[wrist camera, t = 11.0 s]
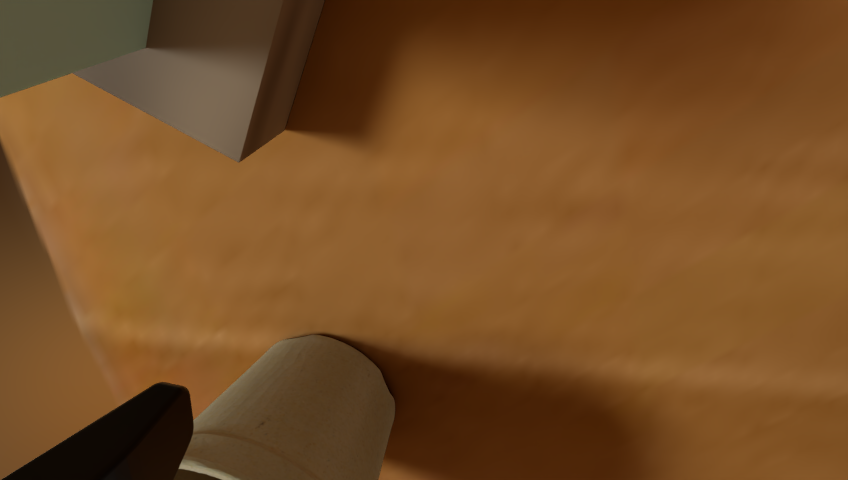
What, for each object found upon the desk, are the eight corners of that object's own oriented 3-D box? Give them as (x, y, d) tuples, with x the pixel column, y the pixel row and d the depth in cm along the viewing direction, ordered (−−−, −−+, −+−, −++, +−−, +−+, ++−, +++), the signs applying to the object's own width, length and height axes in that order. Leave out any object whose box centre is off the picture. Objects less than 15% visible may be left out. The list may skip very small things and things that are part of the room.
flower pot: (435, 317, 24) (348, 505, 17) (436, 488, 29) (368, 692, 21) (216, 283, 26) (59, 434, 19) (250, 445, 31) (133, 616, 24)
